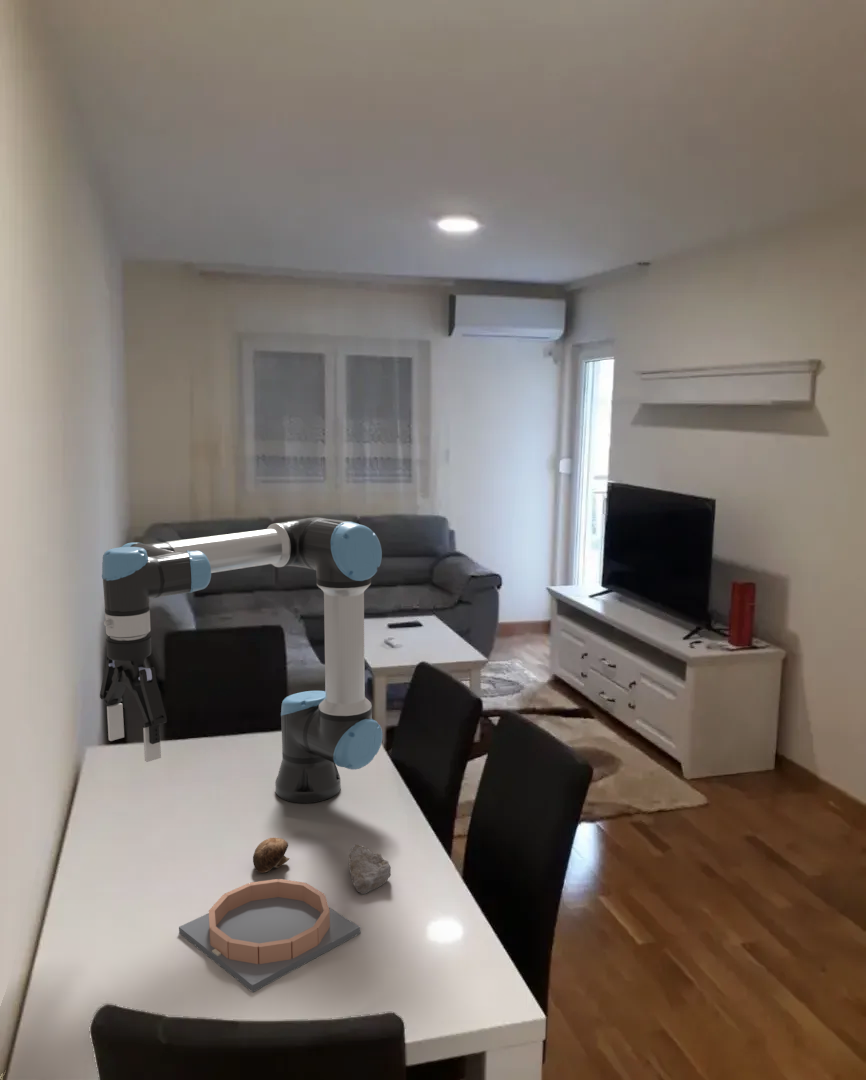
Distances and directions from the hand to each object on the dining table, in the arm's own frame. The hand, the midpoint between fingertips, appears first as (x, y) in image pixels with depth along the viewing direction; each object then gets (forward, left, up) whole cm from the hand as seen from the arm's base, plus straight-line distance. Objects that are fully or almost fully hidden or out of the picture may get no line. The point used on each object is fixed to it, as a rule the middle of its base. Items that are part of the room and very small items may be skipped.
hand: (134, 748), depth 165 cm
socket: (-9, +28, -28) cm, 40 cm away
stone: (-32, +27, -28) cm, 51 cm away
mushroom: (-22, +10, -28) cm, 37 cm away
